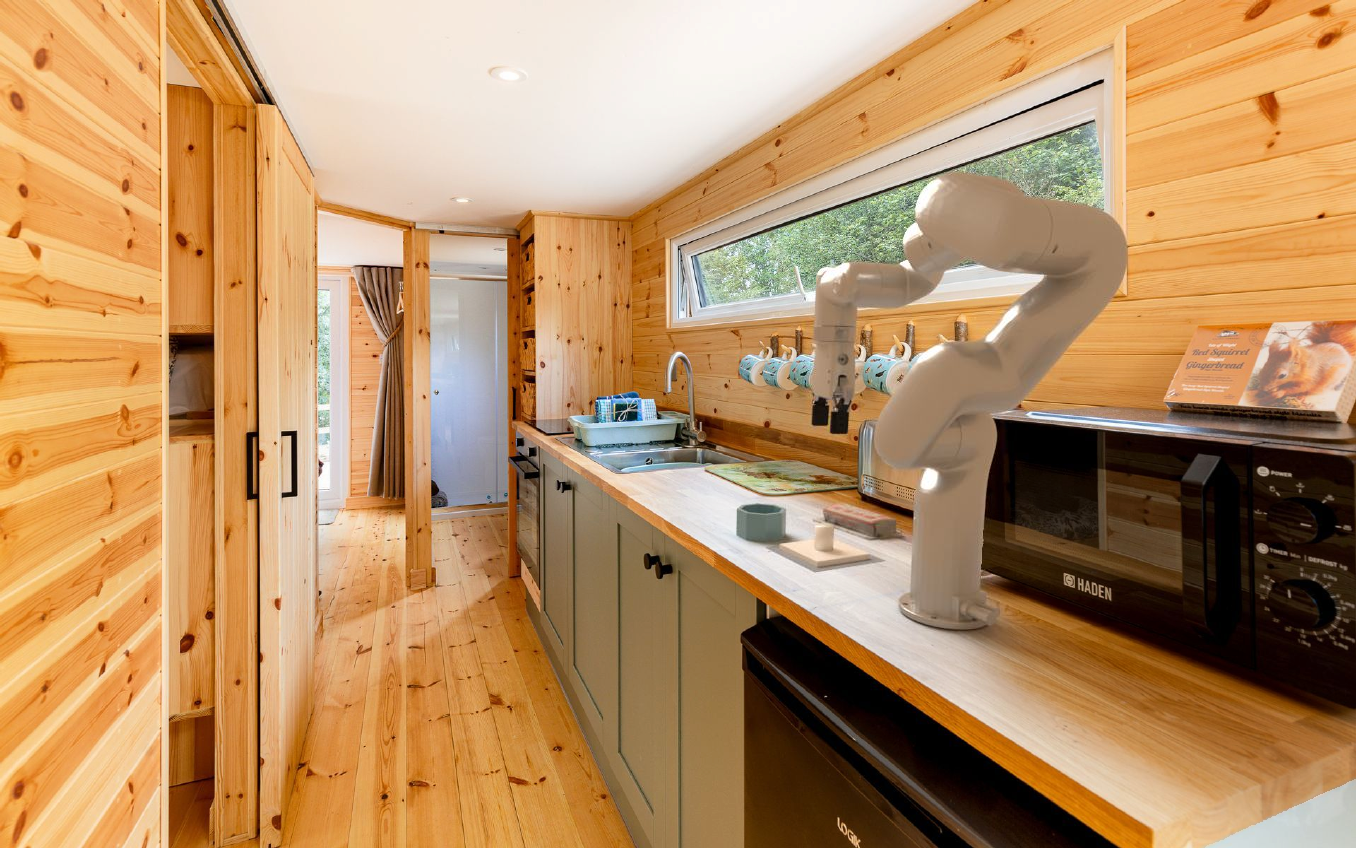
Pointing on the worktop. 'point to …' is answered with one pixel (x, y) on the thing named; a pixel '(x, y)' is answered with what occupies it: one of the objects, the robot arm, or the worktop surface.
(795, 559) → the mat
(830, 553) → the lid
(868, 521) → the packaged product
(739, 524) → the bowl
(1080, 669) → the worktop surface
